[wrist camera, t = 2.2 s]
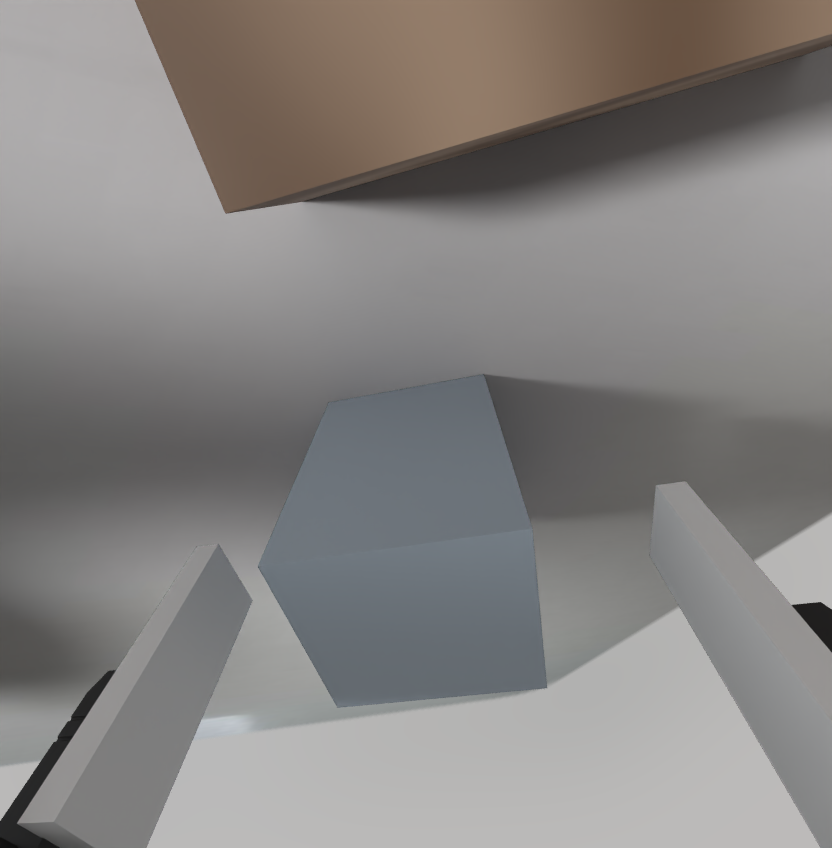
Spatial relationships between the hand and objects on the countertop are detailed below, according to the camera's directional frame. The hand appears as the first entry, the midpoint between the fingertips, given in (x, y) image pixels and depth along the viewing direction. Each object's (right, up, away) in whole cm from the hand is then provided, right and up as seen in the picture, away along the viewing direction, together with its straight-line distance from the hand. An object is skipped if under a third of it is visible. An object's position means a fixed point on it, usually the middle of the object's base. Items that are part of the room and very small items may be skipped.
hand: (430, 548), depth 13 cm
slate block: (0, +3, +4) cm, 5 cm away
